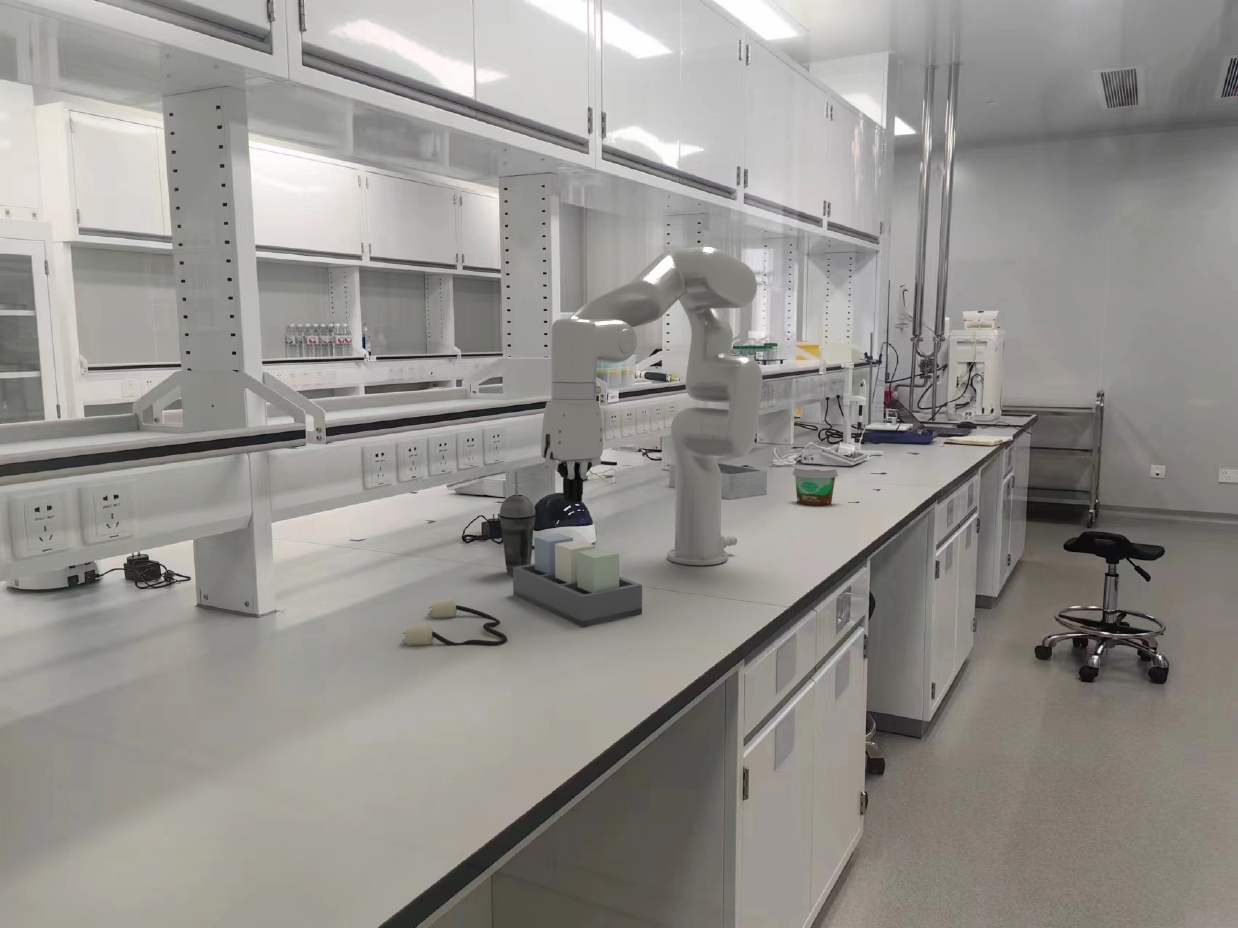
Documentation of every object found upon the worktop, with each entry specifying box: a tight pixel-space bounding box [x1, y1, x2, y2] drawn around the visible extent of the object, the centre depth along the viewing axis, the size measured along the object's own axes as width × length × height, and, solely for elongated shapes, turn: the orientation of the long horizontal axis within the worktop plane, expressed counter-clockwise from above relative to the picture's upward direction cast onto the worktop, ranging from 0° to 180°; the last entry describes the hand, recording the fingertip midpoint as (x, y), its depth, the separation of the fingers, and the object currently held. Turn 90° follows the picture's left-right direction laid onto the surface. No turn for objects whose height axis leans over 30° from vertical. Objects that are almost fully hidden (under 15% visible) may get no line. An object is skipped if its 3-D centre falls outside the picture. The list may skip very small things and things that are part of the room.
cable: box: [401, 598, 508, 647], centre depth 139 cm, size 16×16×4 cm
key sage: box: [577, 547, 620, 593], centre depth 146 cm, size 5×5×6 cm
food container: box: [792, 467, 839, 507], centre depth 244 cm, size 12×6×10 cm, turn 73°
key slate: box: [533, 532, 574, 574], centre depth 157 cm, size 5×5×6 cm
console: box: [512, 563, 643, 628], centre depth 153 cm, size 12×22×5 cm, turn 36°
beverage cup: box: [498, 471, 537, 577], centre depth 171 cm, size 7×7×20 cm
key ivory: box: [555, 539, 596, 583], centre depth 152 cm, size 5×5×6 cm
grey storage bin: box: [669, 461, 768, 500], centre depth 267 cm, size 15×27×7 cm, turn 36°
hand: (572, 500), depth 150 cm, fingers closed
